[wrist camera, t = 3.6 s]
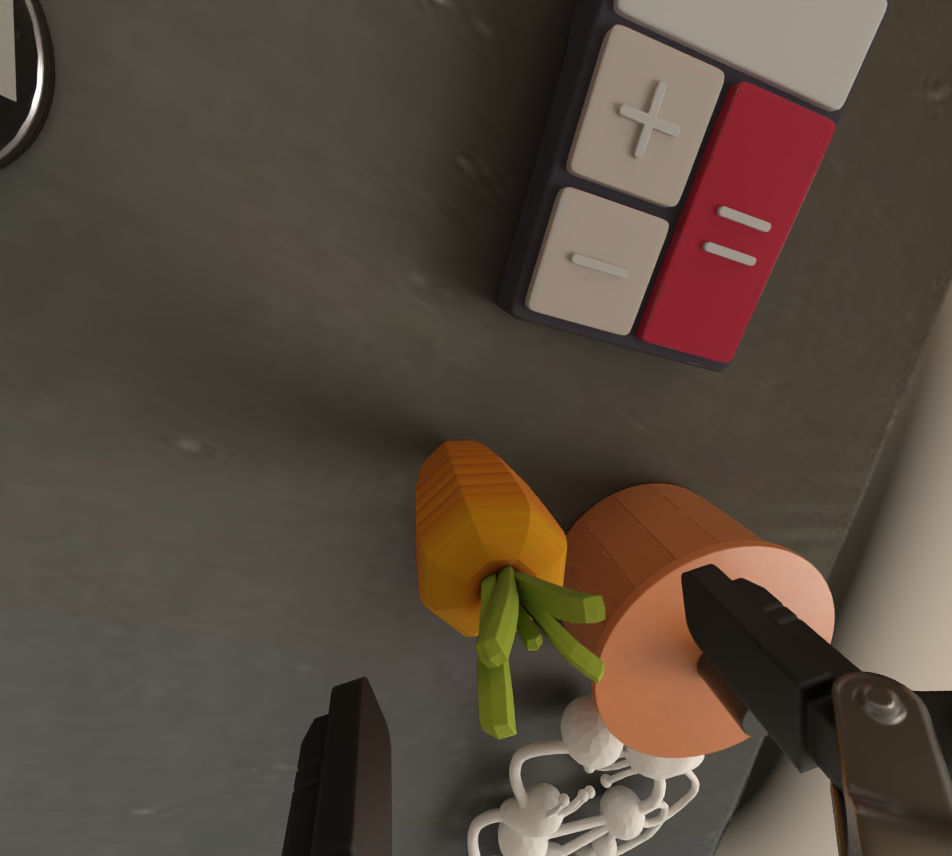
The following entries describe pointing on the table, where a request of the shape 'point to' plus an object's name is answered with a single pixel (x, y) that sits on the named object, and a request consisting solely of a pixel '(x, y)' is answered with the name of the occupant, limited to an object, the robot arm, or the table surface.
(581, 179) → the calculator
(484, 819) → the tangled rod sculpture
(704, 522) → the pot
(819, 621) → the pot lid
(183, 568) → the table surface
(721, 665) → the robot arm
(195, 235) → the table surface
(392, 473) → the table surface
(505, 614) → the carrot
